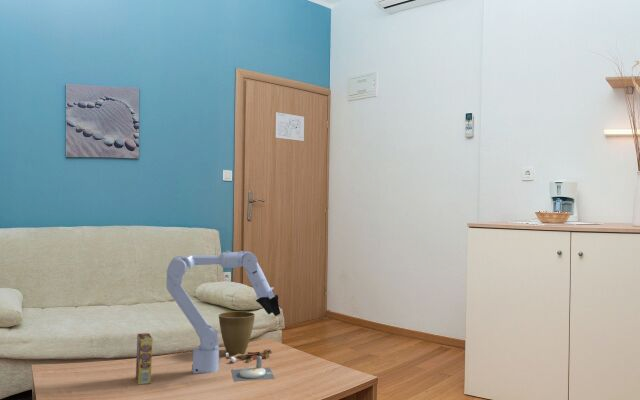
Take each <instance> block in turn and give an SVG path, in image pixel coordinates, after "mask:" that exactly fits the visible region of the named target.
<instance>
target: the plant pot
mask: <svg viewBox="0 0 640 400" xmlns="http://www.w3.org/2000/svg"><path fill="white" fill-rule="evenodd" d="M255 314H256V313H254V312H250V311H239V310H238V311H225V312H221V313H218V321H219V328H220V334H221V338H222V342H223V345H224V348H225V351H226V353H228V354H229V356H236V355H245V354H246V351H247V348H248V346H249V343H250V340H251V336H252V331H253V327H254V323H255V316H256V315H255Z"/></svg>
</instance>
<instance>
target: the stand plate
mask: <svg viewBox="0 0 640 400" xmlns="http://www.w3.org/2000/svg"><path fill="white" fill-rule="evenodd" d="M263 368H264V369H265V370H266V374H265V376H263V377H260V378H244V377H241V376H240V370H241V369H242V368H240V369H237V368H236V369H231V374H232V378H233V382H235V383H236V382H248V381H262V380H275V379H276V377H275V376H274V373H273V372H272V369H271V368H270V367H263Z"/></svg>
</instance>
